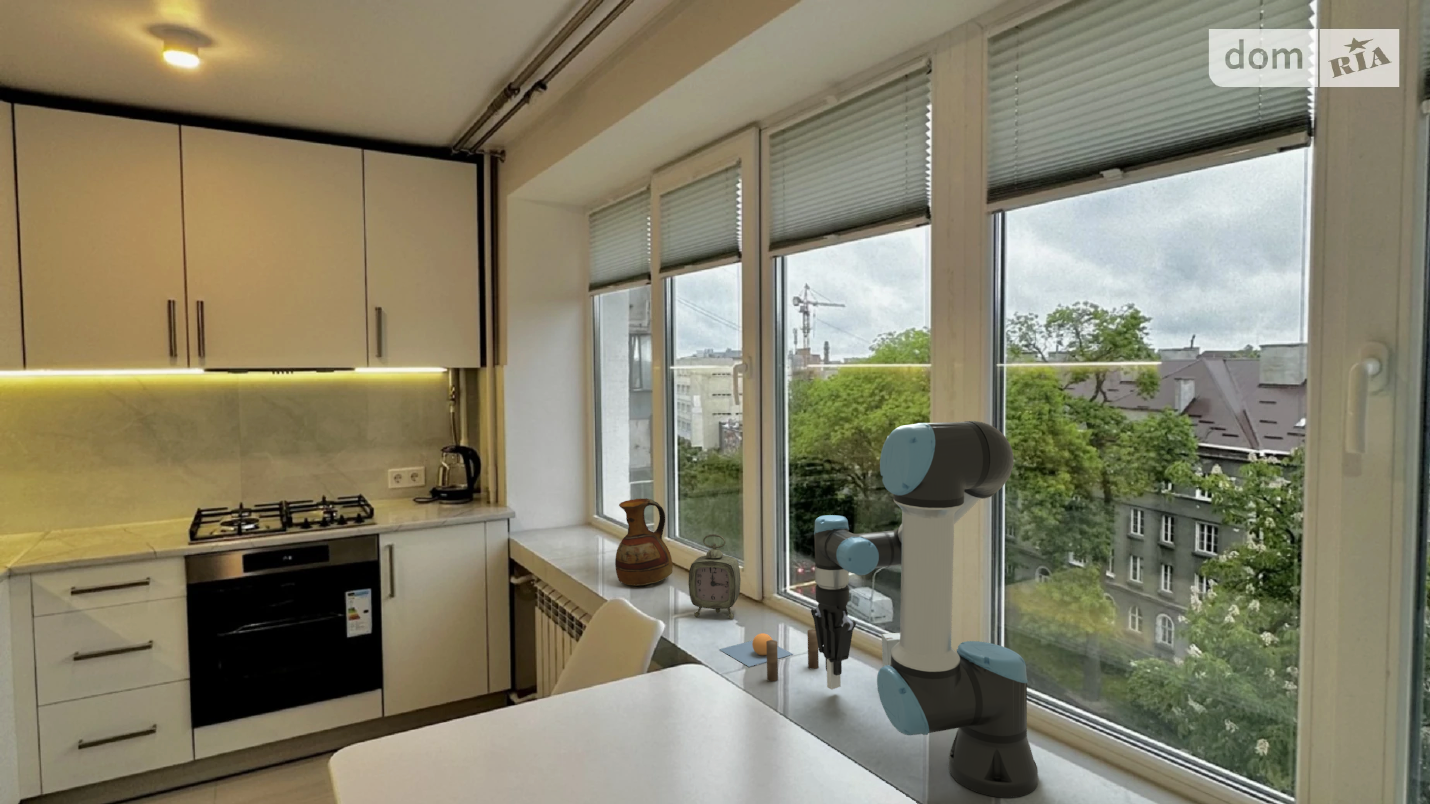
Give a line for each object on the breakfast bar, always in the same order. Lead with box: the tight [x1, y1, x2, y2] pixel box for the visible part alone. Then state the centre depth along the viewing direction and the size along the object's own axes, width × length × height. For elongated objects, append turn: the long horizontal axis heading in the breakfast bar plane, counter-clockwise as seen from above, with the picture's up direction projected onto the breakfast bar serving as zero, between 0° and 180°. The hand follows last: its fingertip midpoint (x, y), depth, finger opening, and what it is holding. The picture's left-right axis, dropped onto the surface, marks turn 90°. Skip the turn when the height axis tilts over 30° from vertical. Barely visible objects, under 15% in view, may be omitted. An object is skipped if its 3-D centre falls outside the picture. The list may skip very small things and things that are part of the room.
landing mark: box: [718, 640, 794, 668], centre depth 193 cm, size 14×14×1 cm
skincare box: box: [881, 632, 900, 667], centre depth 170 cm, size 6×4×12 cm
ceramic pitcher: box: [614, 498, 673, 586], centre depth 260 cm, size 20×20×30 cm
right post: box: [807, 628, 820, 670], centre depth 183 cm, size 3×3×9 cm
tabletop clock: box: [688, 533, 742, 620], centre depth 223 cm, size 14×9×25 cm, turn 76°
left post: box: [766, 639, 779, 682], centre depth 176 cm, size 3×3×9 cm
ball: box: [752, 632, 773, 656], centre depth 191 cm, size 6×6×6 cm
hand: (833, 686), depth 167 cm, fingers closed
